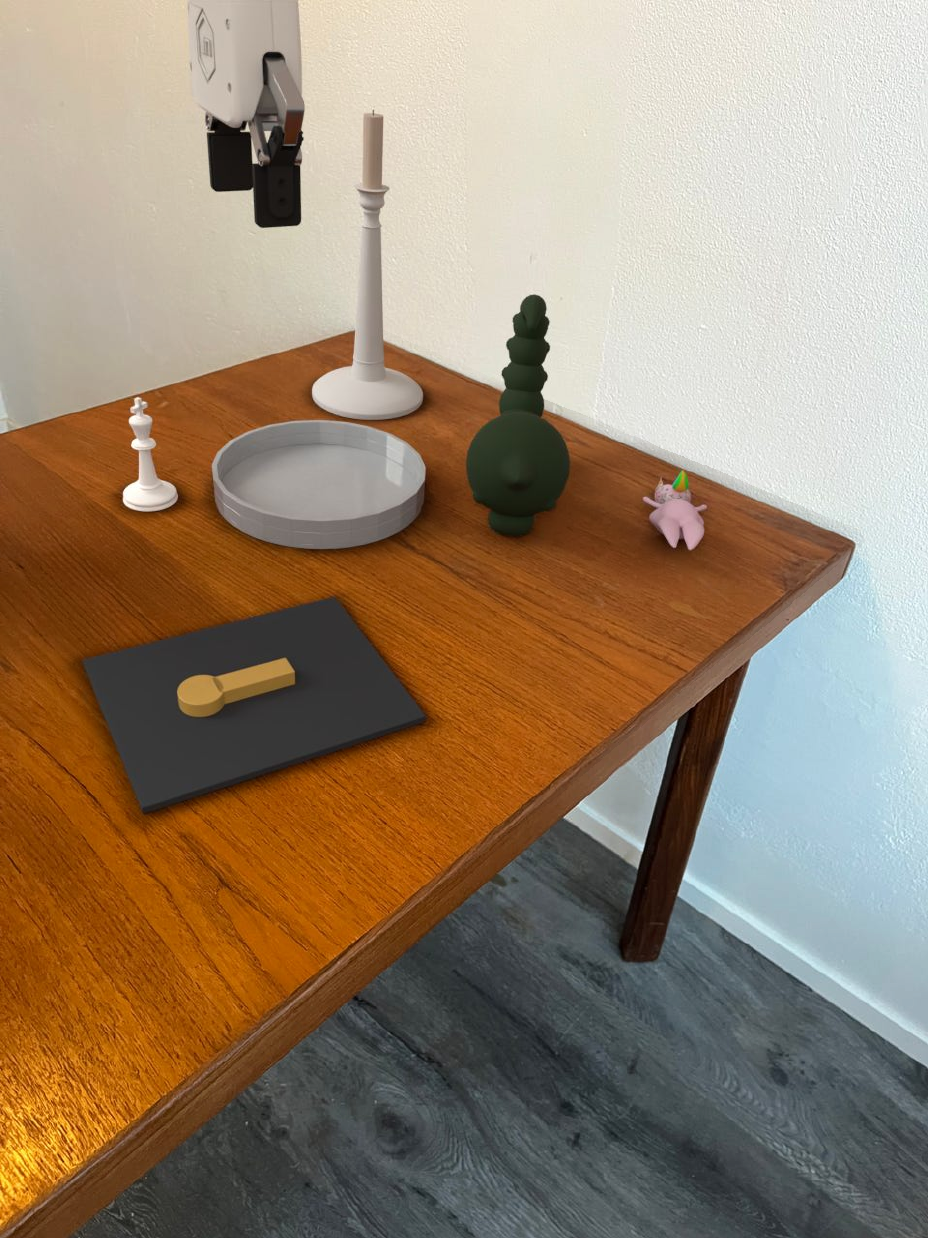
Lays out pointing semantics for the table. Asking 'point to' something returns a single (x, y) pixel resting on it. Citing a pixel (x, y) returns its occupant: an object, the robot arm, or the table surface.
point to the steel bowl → (318, 484)
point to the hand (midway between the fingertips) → (254, 206)
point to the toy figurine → (520, 435)
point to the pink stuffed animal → (677, 513)
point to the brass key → (232, 687)
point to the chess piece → (146, 468)
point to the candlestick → (369, 314)
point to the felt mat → (246, 701)
